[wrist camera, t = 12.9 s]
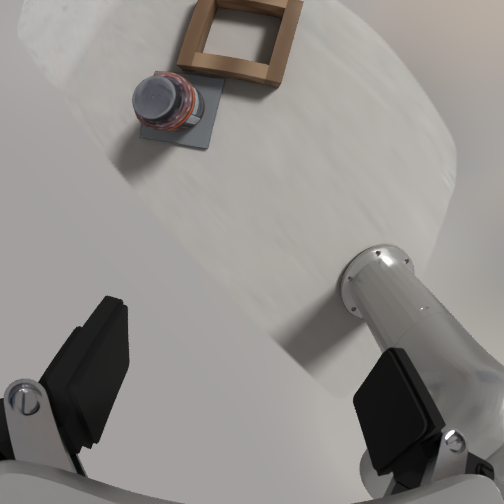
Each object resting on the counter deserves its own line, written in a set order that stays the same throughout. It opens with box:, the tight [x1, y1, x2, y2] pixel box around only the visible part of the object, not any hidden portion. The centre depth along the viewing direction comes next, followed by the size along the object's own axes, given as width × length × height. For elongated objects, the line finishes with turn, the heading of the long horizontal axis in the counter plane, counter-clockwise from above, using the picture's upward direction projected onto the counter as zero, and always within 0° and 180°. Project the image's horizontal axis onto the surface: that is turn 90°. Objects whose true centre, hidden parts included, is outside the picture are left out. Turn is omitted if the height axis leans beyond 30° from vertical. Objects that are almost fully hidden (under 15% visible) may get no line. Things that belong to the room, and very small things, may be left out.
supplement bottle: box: [132, 72, 205, 132], centre depth 25 cm, size 6×6×11 cm
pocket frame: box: [177, 0, 303, 88], centre depth 25 cm, size 12×12×4 cm
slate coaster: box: [140, 71, 225, 149], centre depth 30 cm, size 9×9×1 cm
